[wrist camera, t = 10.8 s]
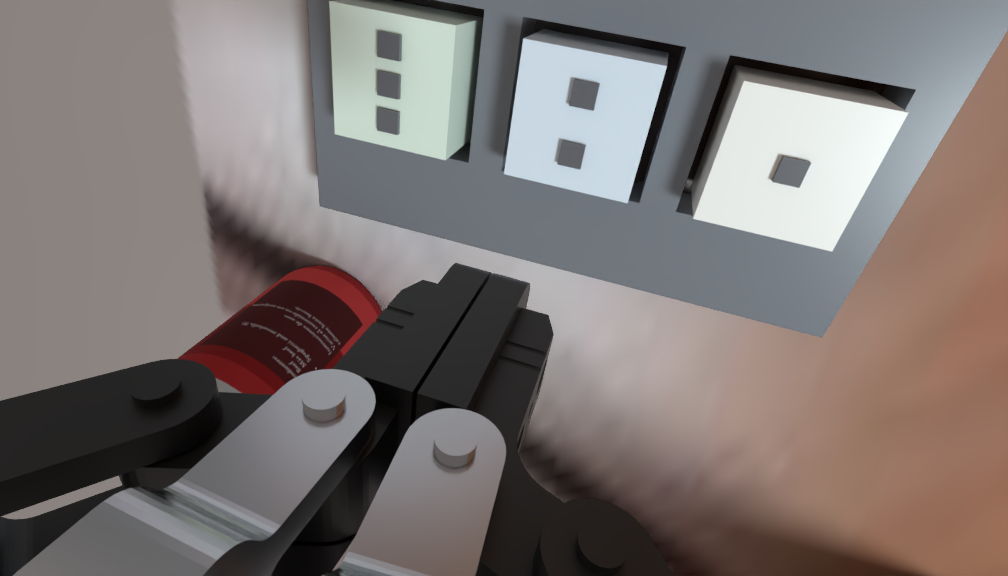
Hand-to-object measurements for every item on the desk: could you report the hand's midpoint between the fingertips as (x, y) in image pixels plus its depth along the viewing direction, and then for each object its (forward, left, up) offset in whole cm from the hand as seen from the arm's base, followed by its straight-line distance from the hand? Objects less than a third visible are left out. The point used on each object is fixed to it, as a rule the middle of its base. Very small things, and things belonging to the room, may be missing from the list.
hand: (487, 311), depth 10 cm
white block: (+8, -1, -15) cm, 17 cm away
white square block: (-7, -1, -15) cm, 16 cm away
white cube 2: (0, -1, -15) cm, 15 cm away
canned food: (+13, +15, -16) cm, 25 cm away
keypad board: (0, -1, -15) cm, 15 cm away
